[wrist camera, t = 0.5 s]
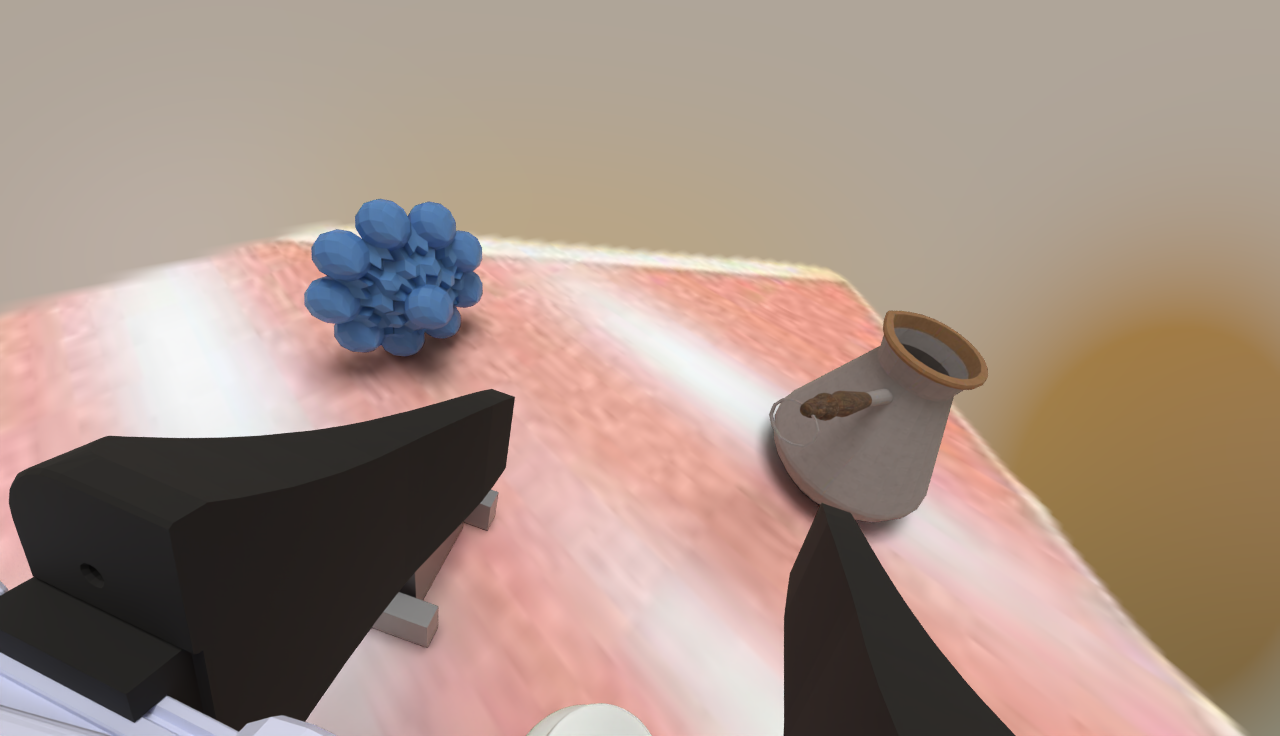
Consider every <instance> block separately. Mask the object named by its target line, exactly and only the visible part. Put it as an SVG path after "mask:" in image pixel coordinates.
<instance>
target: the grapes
mask: <svg viewBox="0 0 1280 736" xmlns="http://www.w3.org/2000/svg"><path fill="white" fill-rule="evenodd" d="M355 227H356V229H357V231H358V233H359V234H360V236H361V238H362V239H361V238H360V237H358V236H357V235H355V234H353V233H352V232H350V231H344V230H338V229H336V230H333V231H330V232H326V233H323V234H320V235H319V237H318V238H317V240H316V241H315V243H314V244H313V246H312V260H313V262H314V263H315V265H316V266H317V268H318V269H319V271H320V272H322V273H324V274H326V275H327V276H326V277H322V278H319V279H317V280H314V281H312V283H311V284H310V286H309V287H308V289H307V290H306V292H305V293H304V298H305V306H306V307H307V309H308V310H309V312H310V313H311V315H312V316H314V317H316V318H318V319H320V320H322V321H324V322H327V323H334V324H335V325H334V337H335V338H336V339H337V341H338V342H339V344H340V345H341V346H342V347H344V348H346V349H348V350H350V351H354V352H365V353H366V352H370V351H374V350H375V349H376V348H378V347H379V346H380V345H382V346H383V348H384V349H385V350H386V351H387V352H389V353H391V354H393V355H396V356H410V355H414V354H415V353H417V352H418V351H419V350H420V349H421V348H422V346H423V344H424V342H425V333H427V334H428V335H430V336H432V337H434V338H442V339H444V338H448V337H452V336H453V335H455V334H456V333H457V332H458V330H459V328H460V325H461V315H460V313H459V312H458V310H457V308H456V307H463V308H467V307H470V306H473V305H475V304H476V303H478V302H479V301H480V299H481V296H482V294H483V290H482V282H481V280H480V278H479V276H478V275H477V274H476V273H474V272H473V271H474V270H475V269H476V268H477V267H479V265H480V263H481V261H482V247H481V245H480V243H479V241H478V239H477V238H476V237H474V236H473V235H472V234H470V233H469V232H465V231H456V222H455V220H454V218H453V216H452V214H451V212H450V211H449V210H448V209H446V208H445V207H444V206H442V205H441V204H439V203H434V202H425V203H422V204H419V205H416V206H414V208H413V209H412V210H411V211H410V213H409V215H408V216H407V215H406V213H405V211H404V209H403V208H401V207H400V206H398V205H397V204H396V203H394V202H393V201H389V200H383V199H376V200H373V201H370V202H366V203H364V204H363V205H362V207H361V208H360V209H359V211H358V213H357V214H356V216H355Z"/></svg>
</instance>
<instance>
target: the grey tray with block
mask: <svg viewBox="0 0 1280 736" xmlns="http://www.w3.org/2000/svg"><path fill="white" fill-rule="evenodd" d="M497 499H498V492H496V491H493V490H490V491H489V493H488V494H487V495H486V497H485V498H484V499H483V501H482V502H481V503H480V504H479V505H478V506H477V507H476V508H475V509H474V511H473V512H472V513H471V514H470V515H469V516H468V517H467V518H466V519H465V520H464V521H463V522H465V523H467V524H470V525H473V526H476V527H478V528H481V529H484V530H488V529H489V527H490V525H491V523H492V521H493V519H494V517H495V512H496V506H497ZM463 522H462V523H461V524H460V525H459V527H458V528H457V529H456V530H455V531H454V532H453V533H452V534H451V535H450V536H449V537H448V538H447V539H446V540H445V541H444V542H443V543H442V544H441V545H440V546H439V548H438V549H437V550H436V551H435V552H434V553H433V554H432V555H431V556H430V557H429V558H428V559H427V560H426V561H425V562H424V563H423V564H422V565H421V566H420V568H419V569H418V570H417V571H416V572H415V573H414V574H413V575H412V577H411V578H410V579H409V580H408V581H407V582H406V583H405V585H404V586H403V587H402V588H401V590H400V591H399V592H398V594H397V595H396V596H395V597H394V599H393V600H392V601H391V603H390V604H389V605H388V607H387V608H386V609H385V610H384V612H383V613H382V614H381V616H380V617H379V618H378V619H377V621H376V622H375V623H374V625H373V626H372V628H374V629H377V630H380V631H383V632H385V633H388V634H391V635H393V636H396V637H399V638H402V639H404V640H407V641H410V642H413V643H415V644H418V645H421V646H424V647H426V648H428V646H429V644H430V642H431V640H432V638H433V636H434V634H435V632H436V630H437V628H438V606H436V605H433V604H431V603H428V602H425V601H423V599H424V597H425V595H426V593H427V592H428V590H429V588H430V586H431V584H432V583H433V581H434V579H435V577H436V575H437V574H438V572H439V570H440V568H441V566H442V564H443V563H444V561H445V559H446V557H447V555H448V554H449V552H450V550H451V548H452V546H453V545H454V543H455V541H456V539H457V537H458V536H459V534H460V532H461V530H462V528H463Z"/></svg>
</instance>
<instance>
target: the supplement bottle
mask: <svg viewBox="0 0 1280 736" xmlns="http://www.w3.org/2000/svg"><path fill="white" fill-rule="evenodd" d="M526 736H652V735H651V734H650V732H649V731H648V729H647V728H646V727H645V725H644V724H643V723H642V722H641V721H640V720H639V719H638V718H637V717H636V716H634V715H633V714H631V713H630V712H628V711H626V710H625V709H623V708H621V707H618V706H615V705H610V704H604V703H598V704H589V705H574V706H569V707H566V708H563V709H560V710H558V711H556V712H554V713H552V714H550V715H548V716H547V717H546V718H544V719H543V720H541V721H540V722H539V723H538V724H537V725H535V726H534V727H533V728H532V729H531V731H530V732H529V733H528V734H527V735H526Z"/></svg>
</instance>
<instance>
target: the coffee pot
mask: <svg viewBox="0 0 1280 736" xmlns="http://www.w3.org/2000/svg"><path fill="white" fill-rule="evenodd" d="M883 331H884V336H883V340H882V343H881V346H879V347H877V348H875V349H873V350H871V351H869V352H868V353H866V354H864V355H862V356H860V357H858V358H856V359H854V360H852V361H850V362H848V363H846V364H844V365H843V366H841V367H839V368H837V369H835V370H833V371H831V372H829V373H827V374H825V375H823V376H821V377H819V378H818V379H816V380H814V381H812V382H810V383H808V384H806V385H804V386H802V387H800V388H798V389H796V390H794V391H793V392H792V393H791V394H789V395H788V396H787V397H786V398H783V399H781V400H779V401H778V402H776V403H774V404H773V406H772V409H771V411H770V414H769V416H770V421H771V426H772V428H773V430H774V440H775V444H776V448H777V452H778V455H779V457H780V459H781V461H782V462H783V464H784V466H785V468H786V470H787V472H788V474H789V475H790V477H791V478H792V480H793V481H794V482H795V484H796V485H797V486H798V487H799V489H800V490H801V491H802V492H803V493H804V494H806V495H807V496H808V497H809V498H810V499H811V500H812V501H814V502H816V503H817V504H819V505H821V503H824V504H827V505H829V506H832V507H835V508H838V509H841V510H844V511H847V512H850V513H851V514H852V516H853V517H854V519H855V520H860V521H868V522H880V521H887V520H893V519H900V518H903V517H904V516H906V515H908V514H910V513H911V512H913V511H915V510H916V509H917V508H918V507H919V505H920V504H921V502H922V500H923V499H924V497H925V496H926V494H927V490H928V486H929V483H930V479H931V476H932V472H933V469H934V465H935V461H936V458H937V454H938V451H939V447H940V444H941V440H942V437H943V433H944V429H945V426H946V422H947V419H948V415H949V412H950V408H951V405H952V401H953V397H954V396H955V395H956V394H958V393H960V392H961V391H963V390H972V389H974V388H977V387H979V386H981V385H983V384H984V382H985V381H986V379H987V377H988V369H987V366H986V363H985V361H984V359H983V358H982V356H981V355H980V353H979V352H978V351H977V349H976V348H975V347H974V346H973V345H972V344H971V343H970V342H969V341H968V340H966V339H965V338H964V337H962V336H961V335H960V334H959V333H958V332H956V331H954V330H953V329H951V328H950V327H948V326H946V325H945V324H943V323H941V322H939V321H937V320H935V319H932V318H930V317H927V316H924V315H921V314H917V313H912V312H904V311H888V312H887V313H886V316H885V319H884V324H883ZM779 403H781V404H780V406H779V408H778V410H777V411H776V414H775V423H774V418H773V413H774V410H775V408H776V405H778V404H779Z"/></svg>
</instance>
